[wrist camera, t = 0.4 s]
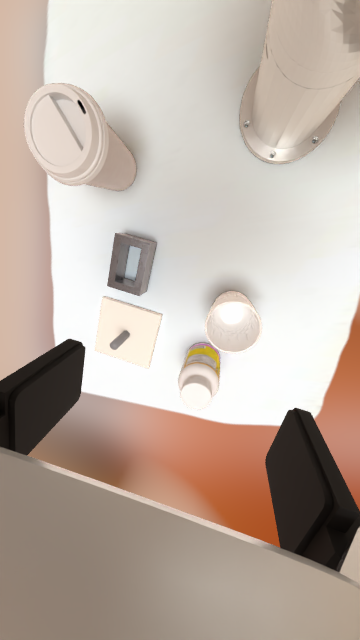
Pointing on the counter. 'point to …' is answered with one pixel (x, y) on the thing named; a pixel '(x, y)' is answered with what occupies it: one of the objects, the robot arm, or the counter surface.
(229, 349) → the white cup
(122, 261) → the link
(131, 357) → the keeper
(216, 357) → the supplement bottle
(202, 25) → the counter surface
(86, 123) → the coffee cup
